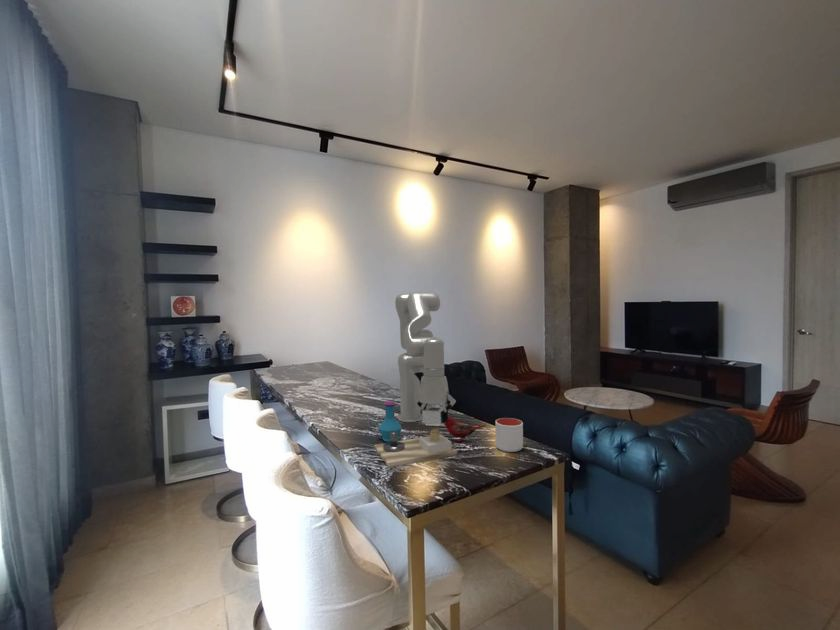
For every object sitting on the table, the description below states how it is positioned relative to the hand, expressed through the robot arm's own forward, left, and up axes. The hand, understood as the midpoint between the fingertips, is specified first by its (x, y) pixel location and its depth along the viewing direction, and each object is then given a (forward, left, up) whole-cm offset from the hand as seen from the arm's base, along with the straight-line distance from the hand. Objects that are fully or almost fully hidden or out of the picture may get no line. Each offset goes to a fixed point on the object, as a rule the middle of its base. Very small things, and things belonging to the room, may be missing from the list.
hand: (434, 420), depth 139 cm
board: (-3, -7, -12) cm, 14 cm away
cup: (+8, +27, -12) cm, 31 cm away
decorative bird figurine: (-5, +15, -12) cm, 20 cm away
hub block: (0, 0, -10) cm, 10 cm away
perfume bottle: (-20, -11, -12) cm, 26 cm away
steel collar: (0, 0, 0) cm, 0 cm away
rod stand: (-6, -14, -10) cm, 18 cm away
